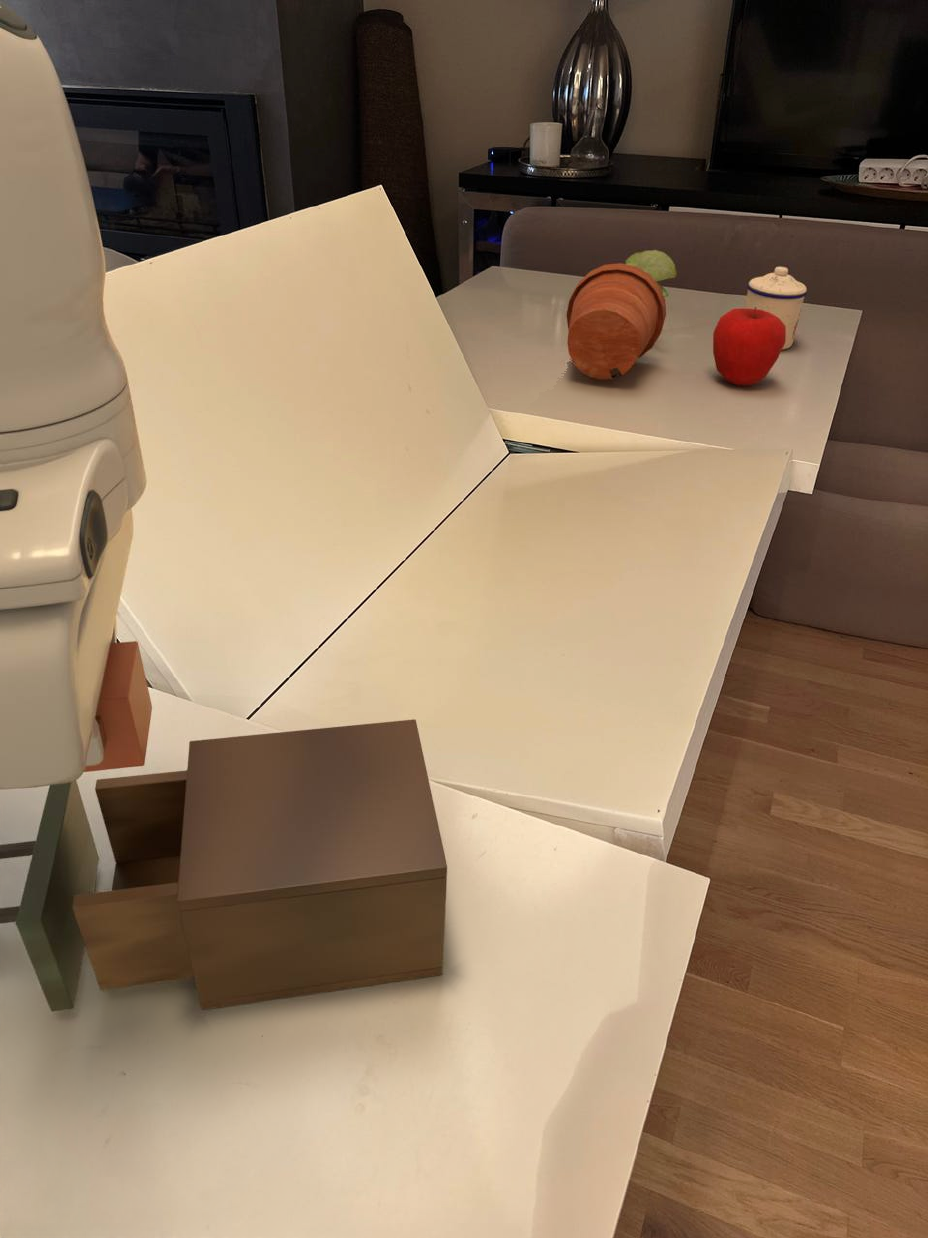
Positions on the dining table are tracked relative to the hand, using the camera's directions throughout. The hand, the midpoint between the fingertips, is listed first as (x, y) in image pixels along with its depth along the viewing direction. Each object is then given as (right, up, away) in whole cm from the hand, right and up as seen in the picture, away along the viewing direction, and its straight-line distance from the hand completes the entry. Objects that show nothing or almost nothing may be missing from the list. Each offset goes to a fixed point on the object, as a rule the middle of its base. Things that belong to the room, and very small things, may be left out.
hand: (95, 715), depth 45 cm
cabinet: (+9, -13, +12) cm, 20 cm away
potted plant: (+41, +47, +97) cm, 116 cm away
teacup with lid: (+67, +51, +105) cm, 134 cm away
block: (0, -1, +1) cm, 2 cm away
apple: (+58, +39, +88) cm, 113 cm away
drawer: (-1, -13, +9) cm, 16 cm away
